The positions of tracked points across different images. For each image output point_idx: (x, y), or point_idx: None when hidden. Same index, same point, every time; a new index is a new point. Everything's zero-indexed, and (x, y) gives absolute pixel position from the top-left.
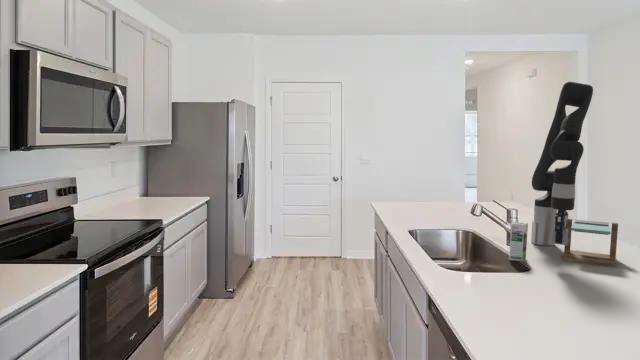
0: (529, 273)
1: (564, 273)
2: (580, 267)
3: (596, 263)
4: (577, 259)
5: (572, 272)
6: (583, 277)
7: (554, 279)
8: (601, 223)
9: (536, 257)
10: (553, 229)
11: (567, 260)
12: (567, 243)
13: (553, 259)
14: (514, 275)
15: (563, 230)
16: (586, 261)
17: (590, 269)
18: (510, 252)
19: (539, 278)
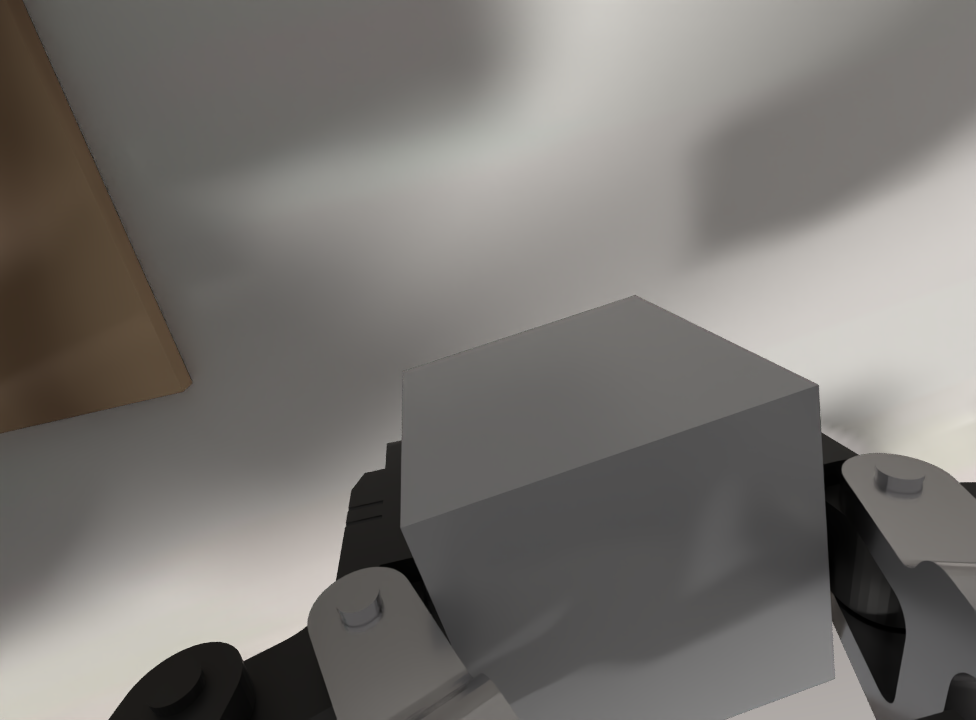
0: (865, 405)
1: (705, 205)
2: (335, 147)
3: (13, 7)
4: (53, 254)
5: (618, 156)
6: (749, 13)
7: (951, 210)
8: None
9: (281, 567)
10: (739, 706)
11: (166, 334)
12: (651, 303)
13: (218, 450)
14: (969, 450)
15: (719, 532)
16: (51, 140)
17: (337, 29)
18: None
19: (972, 305)
